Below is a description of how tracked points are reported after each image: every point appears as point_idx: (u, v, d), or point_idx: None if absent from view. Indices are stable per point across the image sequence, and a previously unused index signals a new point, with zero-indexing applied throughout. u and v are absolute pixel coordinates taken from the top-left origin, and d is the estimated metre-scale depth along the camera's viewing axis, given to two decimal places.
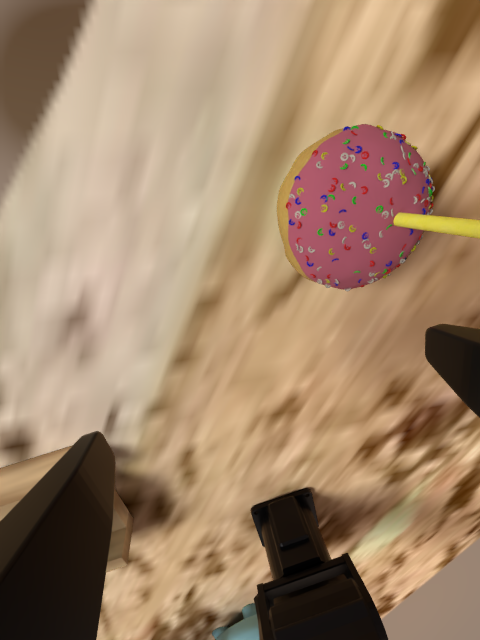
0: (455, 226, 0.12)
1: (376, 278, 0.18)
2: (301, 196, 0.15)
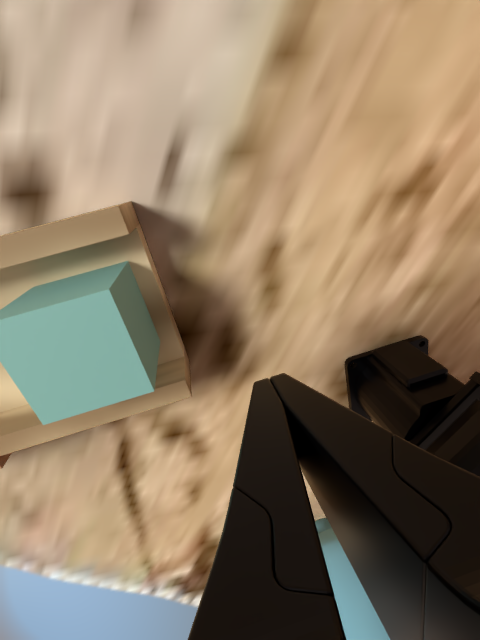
0: None
1: None
2: None
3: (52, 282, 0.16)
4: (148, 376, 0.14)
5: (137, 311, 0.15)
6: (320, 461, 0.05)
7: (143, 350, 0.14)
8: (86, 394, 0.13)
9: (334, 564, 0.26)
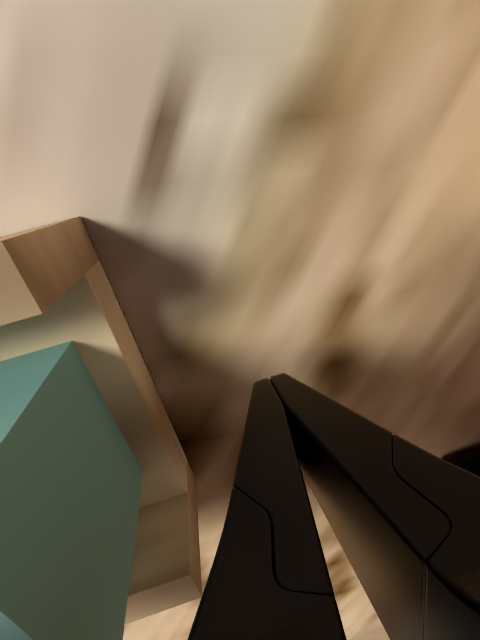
0: None
1: None
2: None
3: None
4: None
5: (82, 470, 0.07)
6: (320, 461, 0.05)
7: (88, 595, 0.06)
8: None
9: None
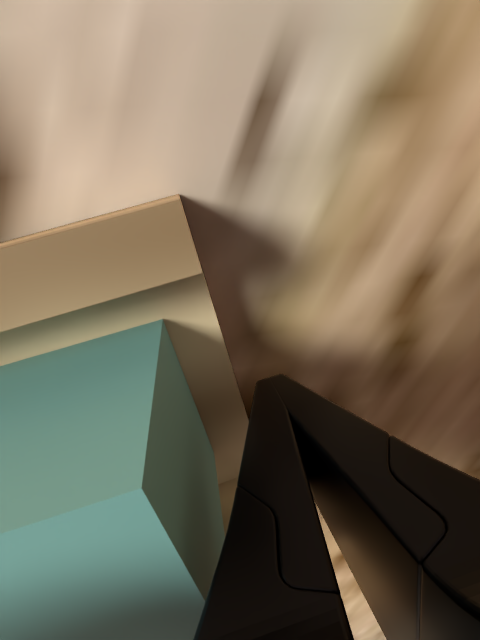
0: None
1: None
2: None
3: (6, 368, 0.08)
4: None
5: (189, 441, 0.07)
6: (317, 462, 0.05)
7: (212, 558, 0.06)
8: None
9: None
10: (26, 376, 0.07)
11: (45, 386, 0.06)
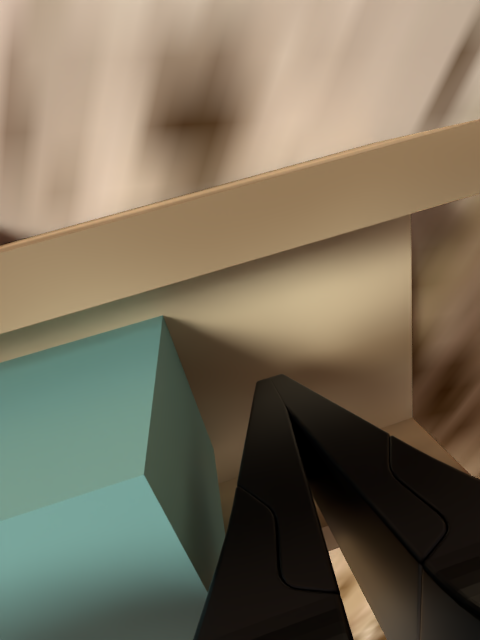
0: None
1: None
2: None
3: (7, 364, 0.08)
4: None
5: (189, 435, 0.07)
6: (317, 462, 0.05)
7: (212, 549, 0.06)
8: None
9: None
10: (28, 371, 0.07)
11: (47, 380, 0.06)
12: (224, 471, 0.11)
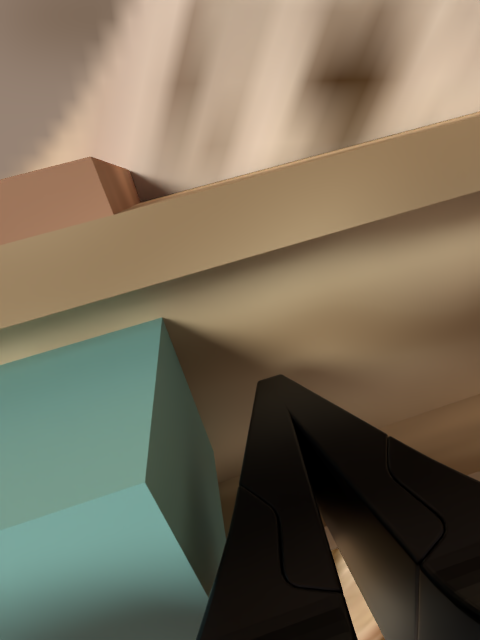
0: None
1: None
2: None
3: (5, 367, 0.08)
4: None
5: (189, 439, 0.07)
6: (316, 462, 0.05)
7: (213, 554, 0.06)
8: None
9: None
10: (26, 375, 0.07)
11: (45, 384, 0.06)
12: None
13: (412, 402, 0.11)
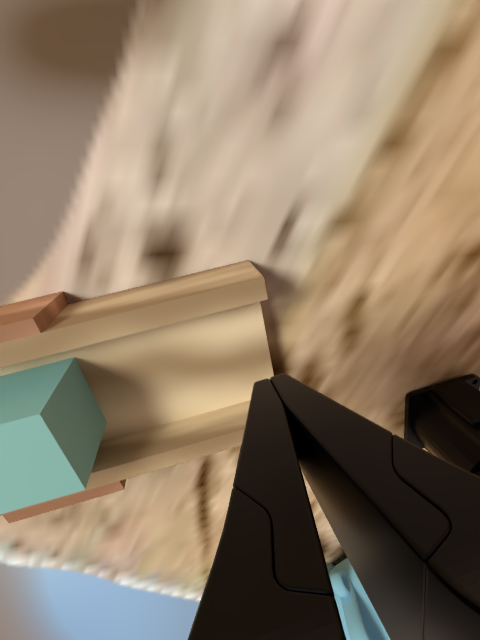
0: None
1: None
2: None
3: (3, 377, 0.18)
4: (80, 477, 0.15)
5: (77, 410, 0.17)
6: (320, 461, 0.05)
7: (78, 451, 0.16)
8: (22, 494, 0.15)
9: None
10: (11, 381, 0.17)
11: (18, 385, 0.16)
12: (175, 415, 0.21)
13: (216, 401, 0.21)
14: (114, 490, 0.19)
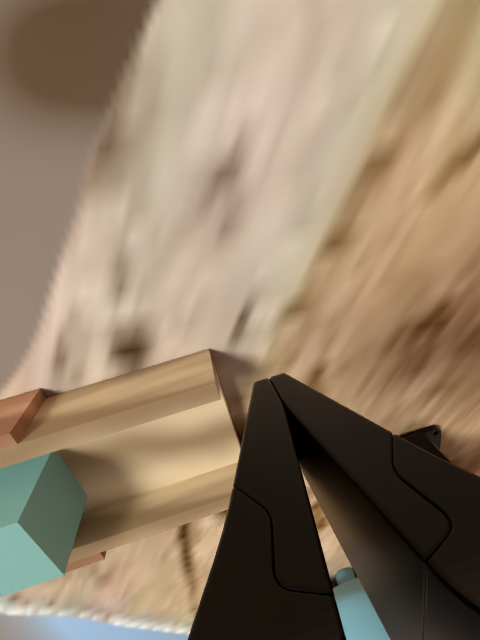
0: None
1: None
2: None
3: None
4: (58, 565, 0.17)
5: (56, 499, 0.19)
6: (320, 461, 0.05)
7: (56, 540, 0.18)
8: (7, 583, 0.17)
9: (360, 615, 0.30)
10: None
11: (2, 482, 0.18)
12: (150, 486, 0.23)
13: (187, 471, 0.23)
14: (95, 560, 0.21)
